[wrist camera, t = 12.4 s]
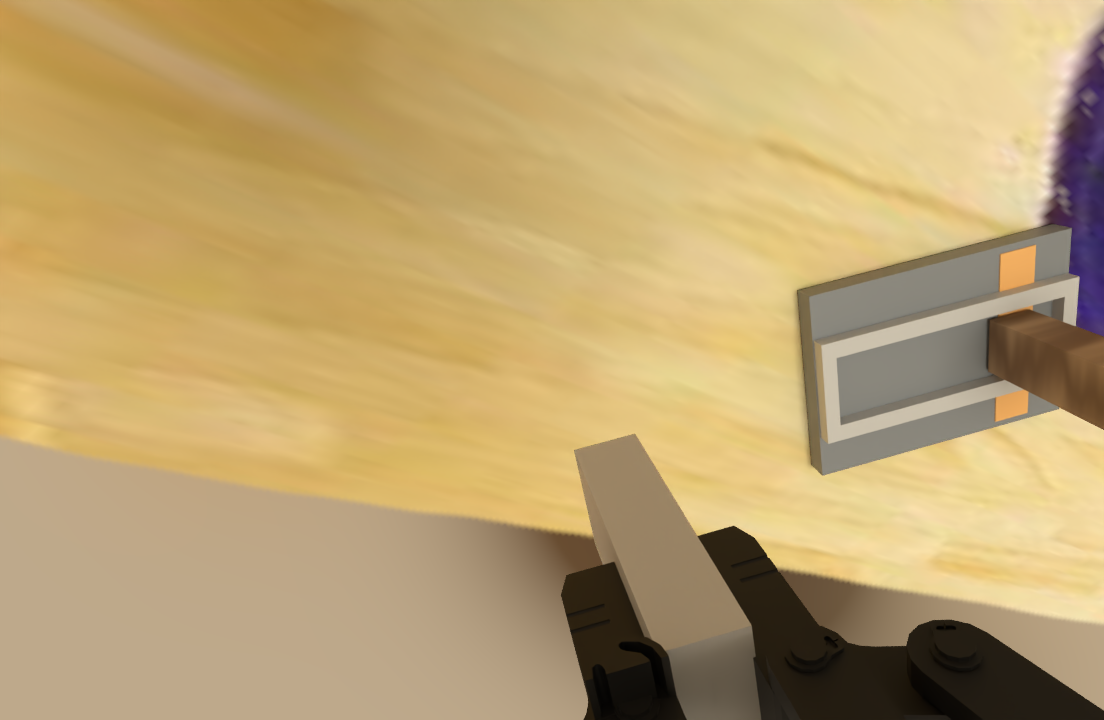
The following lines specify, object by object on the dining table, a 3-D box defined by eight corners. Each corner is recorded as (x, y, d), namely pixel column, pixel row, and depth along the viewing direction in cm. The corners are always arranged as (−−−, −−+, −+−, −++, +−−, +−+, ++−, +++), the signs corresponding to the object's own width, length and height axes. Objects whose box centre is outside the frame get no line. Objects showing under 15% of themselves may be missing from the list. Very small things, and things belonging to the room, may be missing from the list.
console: (797, 290, 49) (816, 300, 46) (1052, 223, 50) (1084, 230, 48) (811, 464, 54) (829, 482, 52) (1042, 400, 56) (1069, 414, 53)
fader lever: (983, 316, 50) (1198, 404, 36) (1036, 302, 50) (1269, 384, 36) (981, 378, 52) (1185, 485, 38) (1032, 364, 52) (1253, 464, 38)
